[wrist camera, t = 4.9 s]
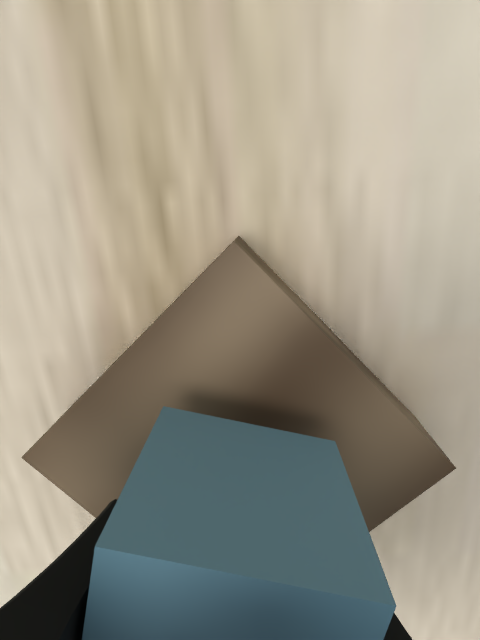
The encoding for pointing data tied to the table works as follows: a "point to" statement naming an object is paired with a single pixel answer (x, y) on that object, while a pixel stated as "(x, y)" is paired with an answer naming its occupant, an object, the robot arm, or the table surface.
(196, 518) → the teal cube
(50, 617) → the robot arm
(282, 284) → the plate
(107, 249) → the table surface
